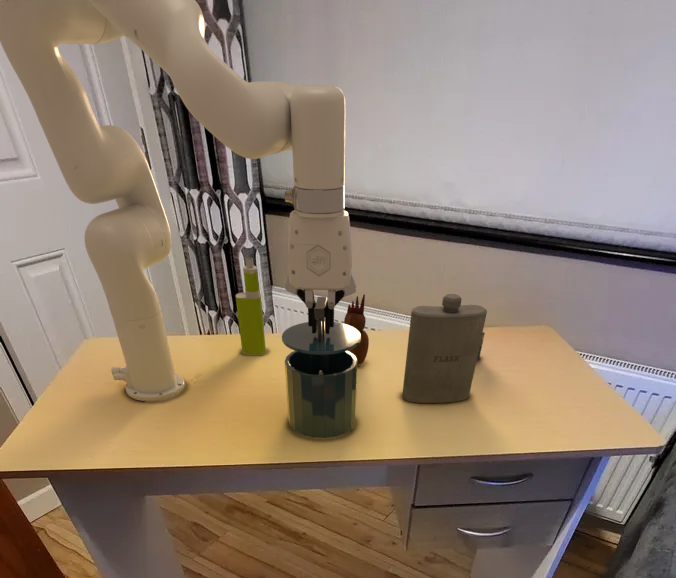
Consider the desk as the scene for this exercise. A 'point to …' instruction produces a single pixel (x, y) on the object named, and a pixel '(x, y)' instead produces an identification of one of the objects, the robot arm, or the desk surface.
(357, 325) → the wooden figurine
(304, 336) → the lid
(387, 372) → the desk surface
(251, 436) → the desk surface
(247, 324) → the vape
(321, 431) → the pot
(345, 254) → the robot arm
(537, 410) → the desk surface
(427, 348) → the flask
